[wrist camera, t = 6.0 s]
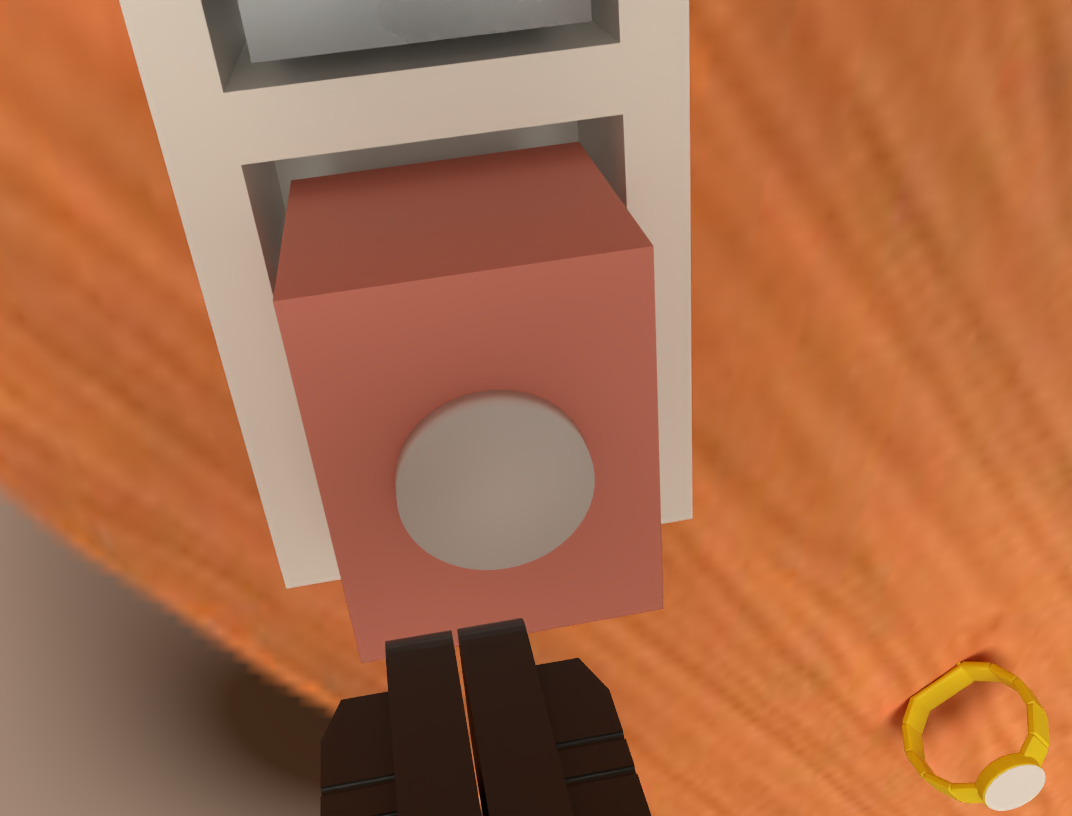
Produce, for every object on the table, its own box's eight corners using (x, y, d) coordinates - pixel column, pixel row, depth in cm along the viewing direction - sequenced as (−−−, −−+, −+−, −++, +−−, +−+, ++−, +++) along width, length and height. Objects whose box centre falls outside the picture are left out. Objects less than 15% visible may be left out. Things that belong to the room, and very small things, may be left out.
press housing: (593, -598, 22) (684, -749, 16) (634, 401, 36) (692, 518, 30) (38, -562, 21) (-83, -709, 15) (296, 456, 35) (286, 588, 29)
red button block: (578, 141, 25) (662, 258, 18) (598, 447, 29) (670, 626, 23) (291, 180, 24) (270, 315, 17) (358, 486, 29) (362, 682, 22)
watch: (975, 630, 45) (1063, 727, 40) (1003, 659, 47) (1091, 755, 42) (872, 713, 46) (945, 817, 41) (902, 738, 48) (976, 842, 43)
